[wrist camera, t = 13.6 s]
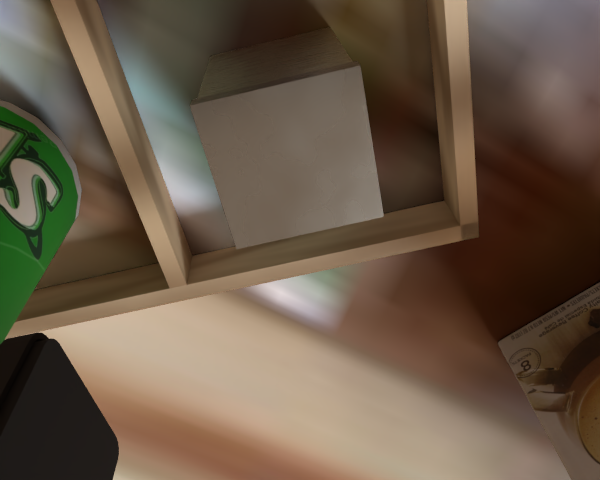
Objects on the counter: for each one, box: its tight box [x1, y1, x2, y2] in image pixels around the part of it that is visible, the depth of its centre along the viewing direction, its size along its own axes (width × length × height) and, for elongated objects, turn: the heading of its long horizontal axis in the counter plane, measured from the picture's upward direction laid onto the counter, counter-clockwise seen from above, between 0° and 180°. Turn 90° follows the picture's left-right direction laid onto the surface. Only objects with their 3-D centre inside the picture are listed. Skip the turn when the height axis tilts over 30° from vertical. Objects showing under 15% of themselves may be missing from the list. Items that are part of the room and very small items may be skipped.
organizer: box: [5, 0, 479, 339], centre depth 23 cm, size 15×28×2 cm, turn 102°
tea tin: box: [190, 27, 384, 249], centre depth 21 cm, size 5×5×7 cm
